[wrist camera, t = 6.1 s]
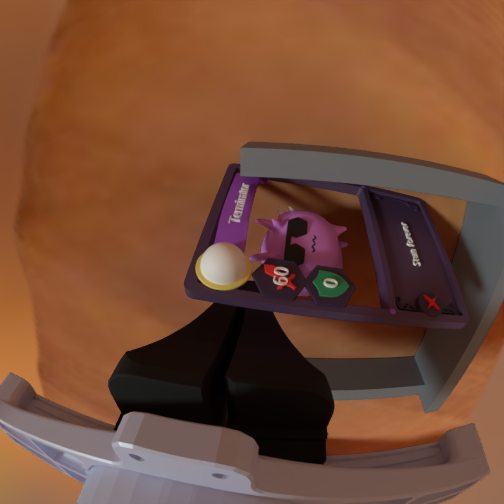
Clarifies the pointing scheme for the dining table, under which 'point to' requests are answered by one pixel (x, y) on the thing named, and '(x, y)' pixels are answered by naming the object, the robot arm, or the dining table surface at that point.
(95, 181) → the dining table surface
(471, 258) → the frame
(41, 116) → the dining table surface
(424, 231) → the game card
